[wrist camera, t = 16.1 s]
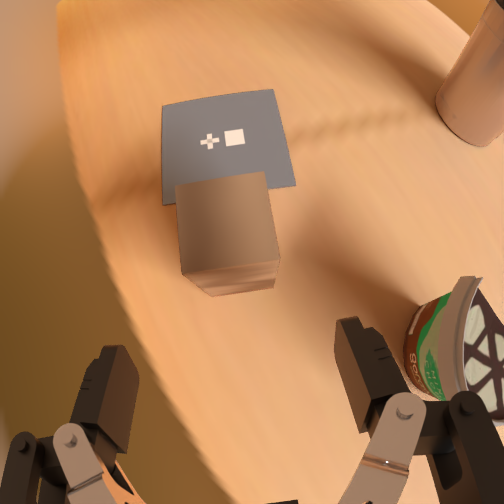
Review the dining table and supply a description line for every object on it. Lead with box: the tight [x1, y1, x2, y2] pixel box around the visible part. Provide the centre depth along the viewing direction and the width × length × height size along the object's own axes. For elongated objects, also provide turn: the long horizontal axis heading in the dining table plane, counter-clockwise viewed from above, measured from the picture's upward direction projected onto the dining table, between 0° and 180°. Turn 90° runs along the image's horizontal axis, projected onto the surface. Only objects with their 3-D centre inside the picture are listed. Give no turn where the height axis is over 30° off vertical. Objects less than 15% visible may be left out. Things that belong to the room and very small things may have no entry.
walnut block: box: [175, 171, 280, 297], centre depth 21 cm, size 5×5×10 cm
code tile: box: [162, 89, 296, 205], centre depth 29 cm, size 12×12×1 cm
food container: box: [403, 276, 504, 426], centre depth 18 cm, size 12×6×10 cm, turn 39°
